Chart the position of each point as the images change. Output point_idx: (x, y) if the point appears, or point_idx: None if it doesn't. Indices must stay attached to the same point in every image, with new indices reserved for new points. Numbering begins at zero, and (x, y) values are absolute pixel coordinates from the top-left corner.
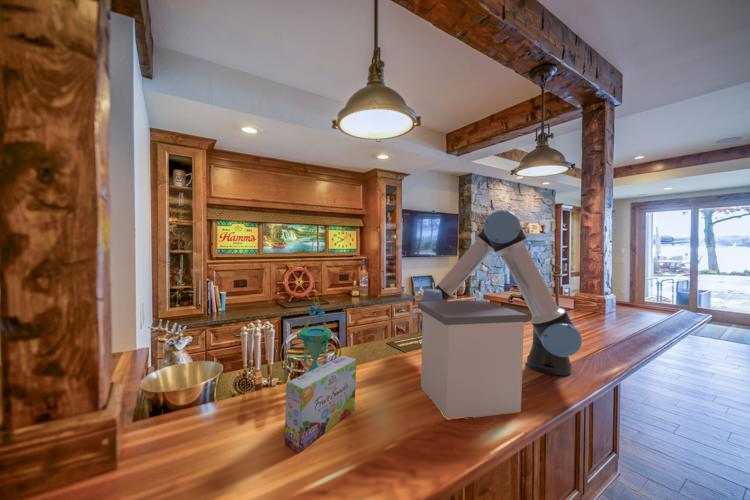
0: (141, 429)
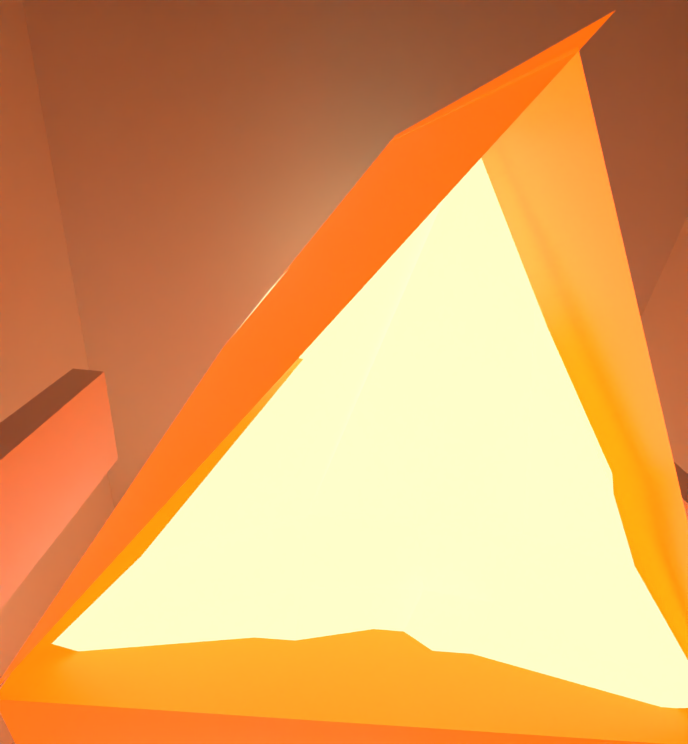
0: None
